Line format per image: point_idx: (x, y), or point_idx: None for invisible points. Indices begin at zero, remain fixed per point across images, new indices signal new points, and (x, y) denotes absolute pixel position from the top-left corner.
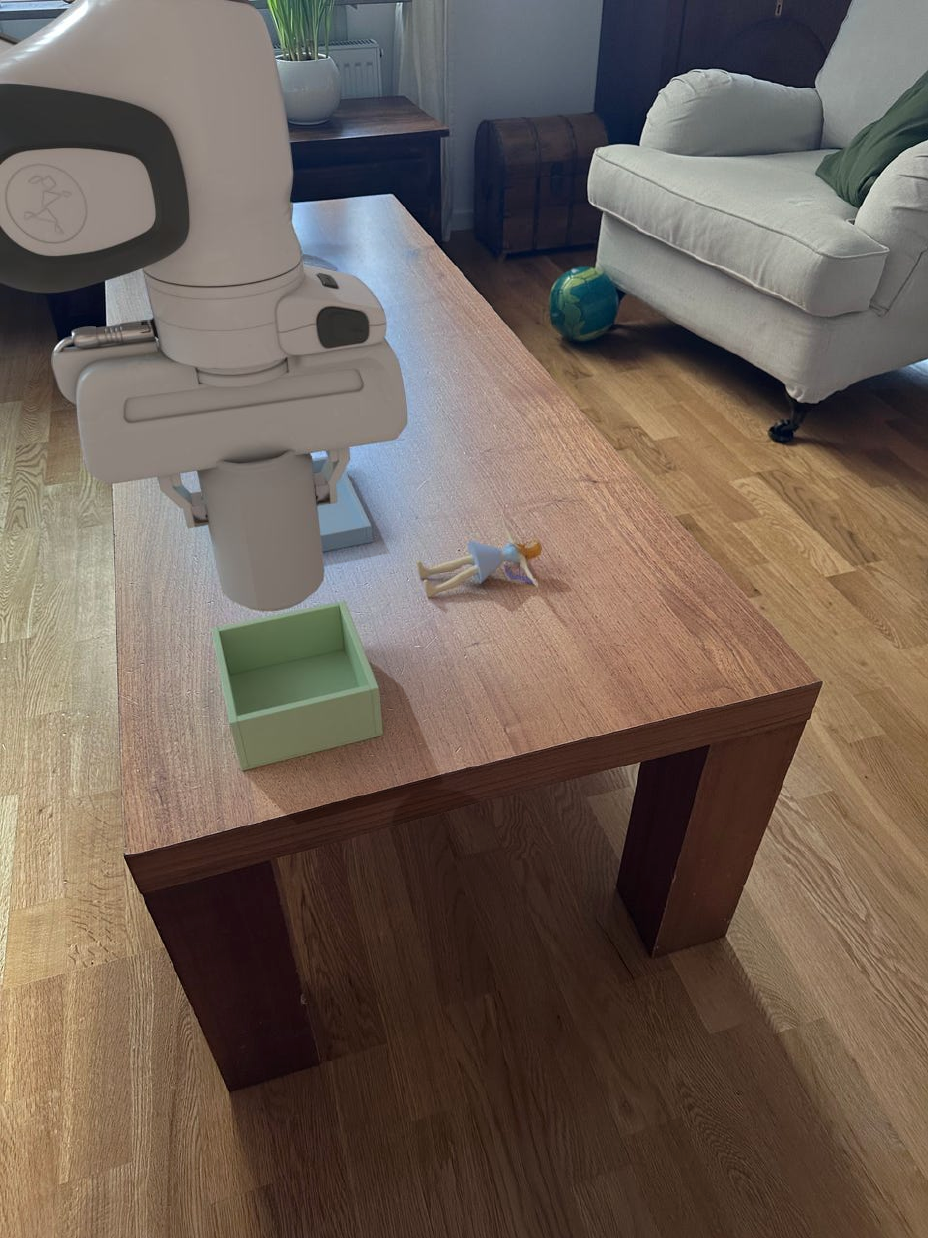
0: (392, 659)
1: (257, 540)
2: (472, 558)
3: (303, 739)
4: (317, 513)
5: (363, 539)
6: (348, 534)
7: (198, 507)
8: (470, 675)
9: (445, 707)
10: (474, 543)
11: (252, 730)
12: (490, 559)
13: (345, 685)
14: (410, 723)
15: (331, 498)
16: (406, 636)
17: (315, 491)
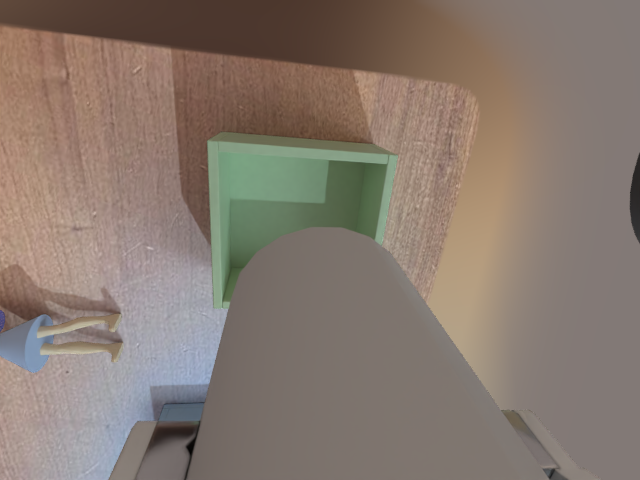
0: (183, 238)
1: (402, 323)
2: (41, 348)
3: (311, 141)
4: (206, 398)
5: (173, 408)
6: (186, 416)
7: (538, 463)
8: (94, 182)
9: (137, 144)
10: (23, 364)
11: (369, 150)
12: (11, 337)
13: (243, 217)
14: (185, 136)
15: (147, 436)
16: (159, 266)
17: (187, 469)
